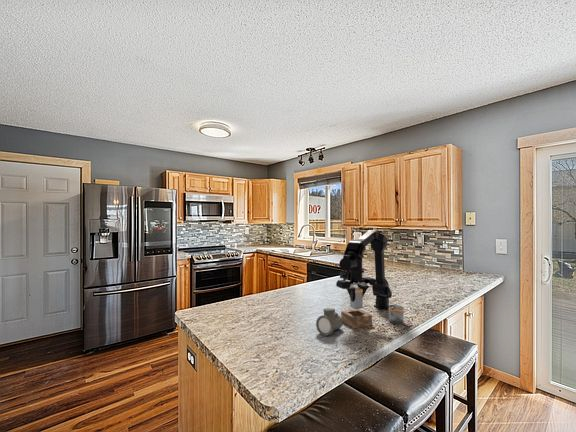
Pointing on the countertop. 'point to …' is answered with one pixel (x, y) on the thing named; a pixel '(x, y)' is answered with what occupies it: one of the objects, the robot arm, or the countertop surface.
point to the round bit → (396, 314)
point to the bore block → (356, 318)
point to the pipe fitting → (328, 322)
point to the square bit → (357, 299)
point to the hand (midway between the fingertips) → (356, 301)
